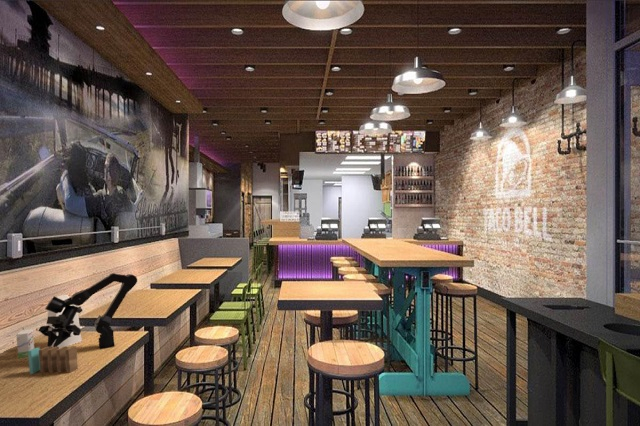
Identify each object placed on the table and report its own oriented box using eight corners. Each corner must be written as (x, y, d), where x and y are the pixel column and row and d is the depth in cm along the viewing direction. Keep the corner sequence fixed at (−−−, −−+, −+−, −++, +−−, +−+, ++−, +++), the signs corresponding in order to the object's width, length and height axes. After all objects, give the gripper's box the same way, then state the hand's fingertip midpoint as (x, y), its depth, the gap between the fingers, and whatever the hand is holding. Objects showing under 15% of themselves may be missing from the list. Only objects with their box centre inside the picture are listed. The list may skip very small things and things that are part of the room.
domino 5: (67, 372, 179) (65, 349, 179) (74, 368, 183) (72, 346, 183) (70, 372, 179) (68, 349, 179) (77, 368, 183) (76, 346, 183)
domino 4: (58, 372, 180) (56, 349, 180) (65, 368, 184) (64, 346, 184) (61, 372, 180) (59, 349, 179) (69, 368, 184) (67, 346, 184)
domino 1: (29, 373, 181) (27, 351, 181) (38, 369, 185) (36, 347, 185) (33, 373, 181) (31, 351, 181) (41, 369, 185) (39, 347, 185)
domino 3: (49, 372, 181) (47, 350, 180) (57, 368, 185) (55, 346, 185) (52, 372, 180) (50, 350, 180) (60, 368, 185) (58, 346, 185)
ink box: (29, 356, 205) (27, 332, 205) (17, 358, 204) (15, 334, 204) (35, 351, 213) (33, 328, 213) (23, 353, 212) (22, 330, 212)
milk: (71, 339, 231) (68, 292, 231) (81, 341, 225) (78, 294, 224) (48, 345, 222) (44, 297, 221) (57, 348, 215) (53, 298, 215)
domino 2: (40, 372, 181) (38, 350, 181) (48, 368, 186) (46, 346, 186) (43, 372, 181) (41, 350, 181) (51, 368, 185) (50, 346, 185)
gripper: (39, 309, 198) (21, 339, 188) (74, 307, 195) (57, 338, 185) (54, 320, 206) (37, 350, 196) (87, 319, 203) (72, 350, 192)
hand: (51, 347), depth 192 cm, fingers open, 3 cm apart
